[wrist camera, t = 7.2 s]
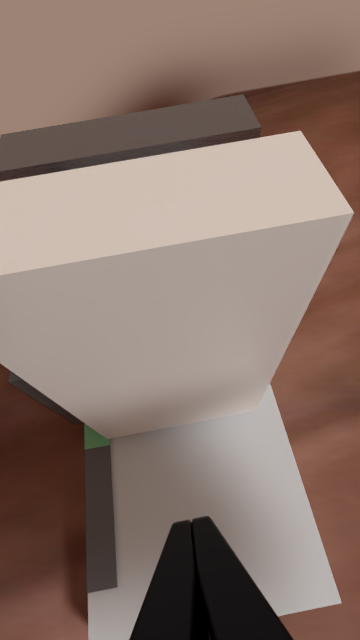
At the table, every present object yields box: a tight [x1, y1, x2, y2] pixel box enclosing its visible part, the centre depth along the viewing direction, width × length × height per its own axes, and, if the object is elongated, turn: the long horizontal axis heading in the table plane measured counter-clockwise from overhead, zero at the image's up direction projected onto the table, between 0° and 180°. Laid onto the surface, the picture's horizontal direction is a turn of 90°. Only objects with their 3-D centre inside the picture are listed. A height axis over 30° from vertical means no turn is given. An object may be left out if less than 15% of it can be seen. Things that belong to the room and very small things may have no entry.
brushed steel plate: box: [0, 95, 261, 182], centre depth 13 cm, size 2×8×8 cm, turn 100°
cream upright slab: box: [0, 131, 354, 439], centre depth 10 cm, size 4×7×10 cm, turn 100°
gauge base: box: [84, 383, 341, 640], centre depth 14 cm, size 14×8×2 cm, turn 10°
